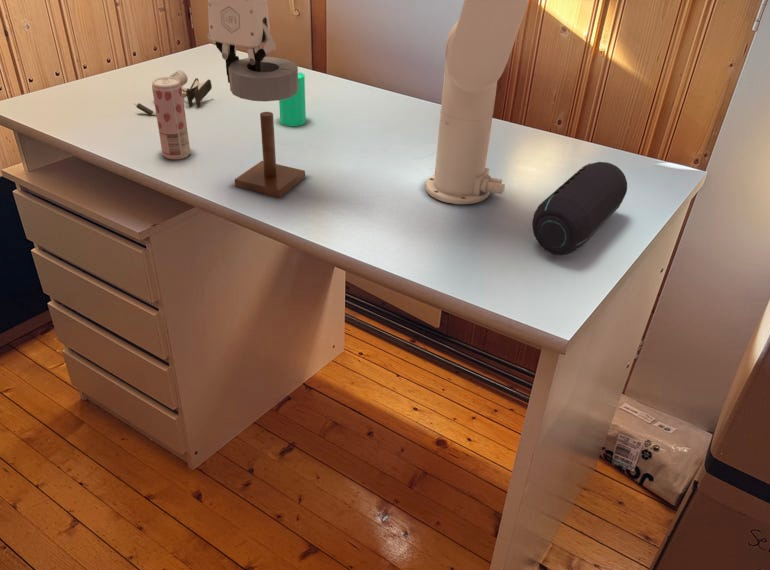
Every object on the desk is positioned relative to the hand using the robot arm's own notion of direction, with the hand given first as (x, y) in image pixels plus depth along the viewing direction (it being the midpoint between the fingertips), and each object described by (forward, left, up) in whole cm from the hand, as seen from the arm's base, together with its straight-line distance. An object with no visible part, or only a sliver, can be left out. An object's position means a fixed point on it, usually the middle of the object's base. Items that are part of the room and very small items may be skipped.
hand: (244, 82), depth 130 cm
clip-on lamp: (+38, -25, -19) cm, 49 cm away
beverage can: (+20, -2, -19) cm, 27 cm away
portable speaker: (-63, -8, -19) cm, 66 cm away
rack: (-4, 0, -19) cm, 19 cm away
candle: (+8, -30, -19) cm, 36 cm away
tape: (-4, 0, -1) cm, 4 cm away
